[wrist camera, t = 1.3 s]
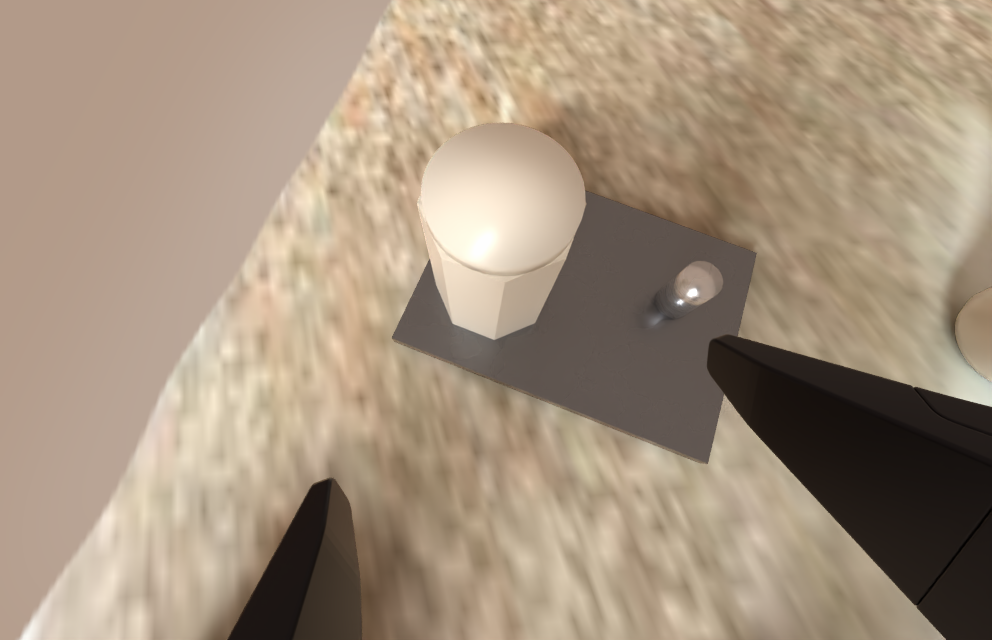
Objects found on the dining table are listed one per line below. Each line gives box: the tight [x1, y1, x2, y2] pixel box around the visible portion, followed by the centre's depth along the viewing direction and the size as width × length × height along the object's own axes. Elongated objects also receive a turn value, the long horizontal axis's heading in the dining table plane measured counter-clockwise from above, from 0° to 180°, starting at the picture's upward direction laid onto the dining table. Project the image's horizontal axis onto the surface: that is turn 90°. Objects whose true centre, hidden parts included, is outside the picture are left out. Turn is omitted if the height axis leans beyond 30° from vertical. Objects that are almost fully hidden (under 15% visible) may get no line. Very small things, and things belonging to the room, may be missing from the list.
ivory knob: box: [417, 123, 587, 340], centre depth 20 cm, size 6×6×10 cm
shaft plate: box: [392, 191, 757, 464], centre depth 24 cm, size 18×13×4 cm
